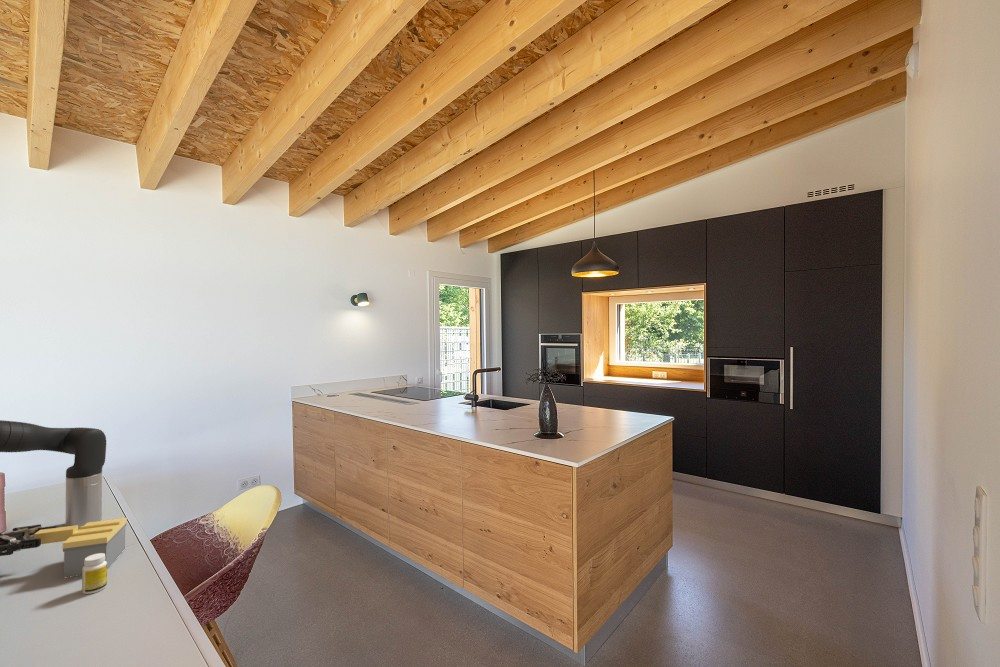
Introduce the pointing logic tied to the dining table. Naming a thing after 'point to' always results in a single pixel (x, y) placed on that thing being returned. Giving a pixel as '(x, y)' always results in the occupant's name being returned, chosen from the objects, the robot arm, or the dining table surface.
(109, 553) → the grey box
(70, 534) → the lid
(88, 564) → the supplement bottle
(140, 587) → the dining table surface
